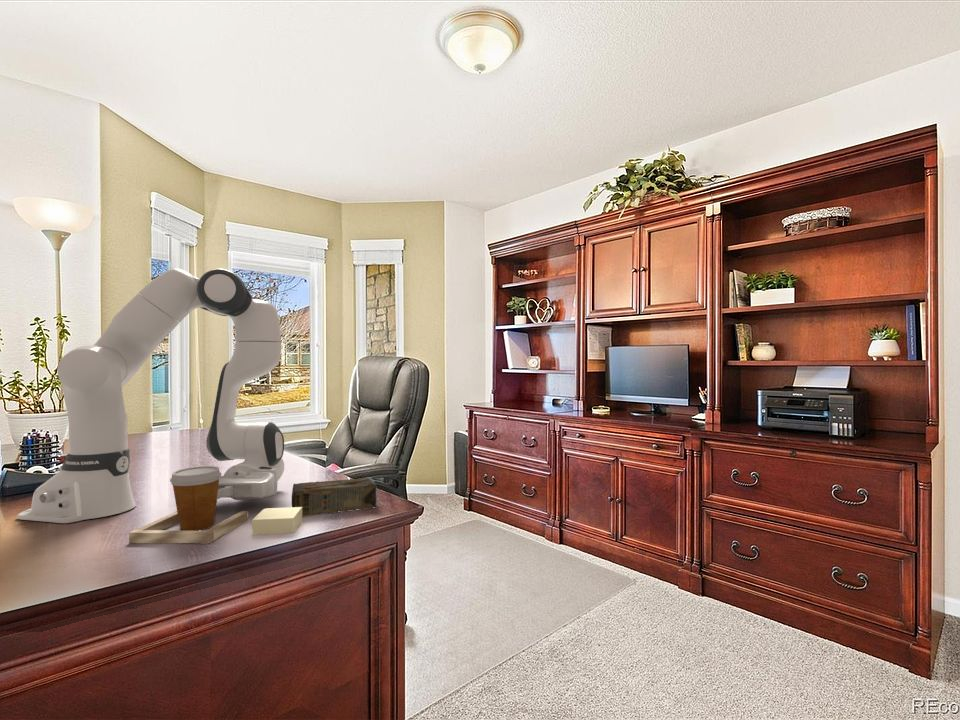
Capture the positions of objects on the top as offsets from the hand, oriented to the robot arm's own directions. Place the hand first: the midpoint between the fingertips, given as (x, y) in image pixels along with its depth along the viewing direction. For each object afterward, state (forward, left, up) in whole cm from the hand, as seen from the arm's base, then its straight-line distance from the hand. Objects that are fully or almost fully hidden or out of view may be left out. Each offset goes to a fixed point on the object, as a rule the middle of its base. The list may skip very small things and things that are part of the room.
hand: (210, 495), depth 110 cm
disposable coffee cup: (-1, -4, -6) cm, 7 cm away
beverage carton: (+24, +11, -6) cm, 27 cm away
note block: (+17, -3, -6) cm, 18 cm away
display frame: (0, -5, -6) cm, 8 cm away
